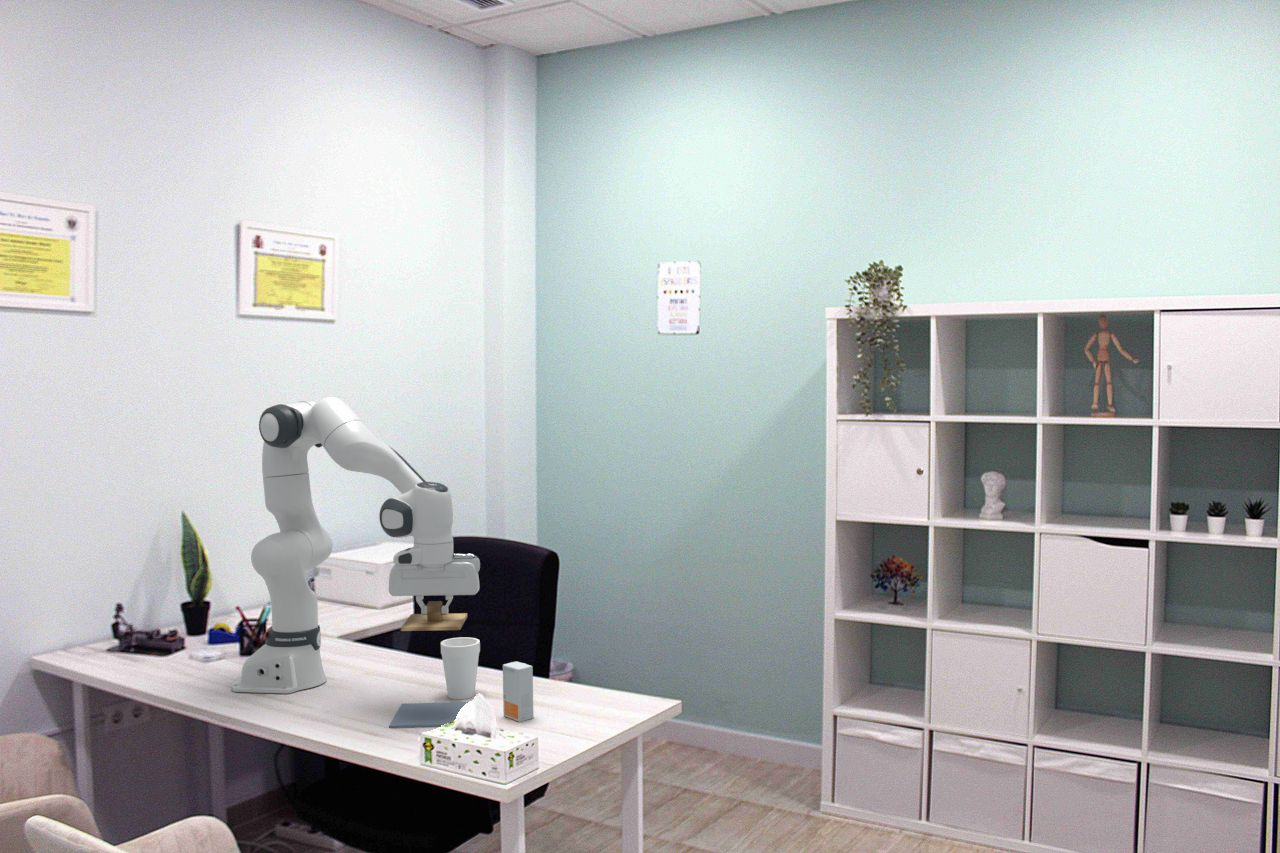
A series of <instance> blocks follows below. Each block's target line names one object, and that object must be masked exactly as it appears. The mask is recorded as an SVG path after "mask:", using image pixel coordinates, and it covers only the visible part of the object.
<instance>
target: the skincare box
mask: <svg viewBox="0 0 1280 853" xmlns="http://www.w3.org/2000/svg"><path fill="white" fill-rule="evenodd" d="M533 670H534V669H533V665H530V664H527V663H524V662H520V661H511V662H508V663H504V664H502V695H503V696H502V701H503V704H502V705H503V706H502V708H503V711H502V712H503V717H506V718H509V719H511V720H514V721H517V722H519V723H521V722H525V721H527V720H531V719H534V676H533V674H534V673H533Z"/></svg>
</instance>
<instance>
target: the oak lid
mask: <svg viewBox="0 0 1280 853" xmlns="http://www.w3.org/2000/svg"><path fill="white" fill-rule="evenodd" d="M426 606H427V615H421V613H413V614H412V613H411V614H410V616H408V618H407V619H406V620H405V622H404V623H403V624H402V625H401V627H400V631H401V632H411V631H412V632H414V631H415V632H417V631H418V632H421V631H423V632H424V631H460V630H461V629H462V627H463V625H464V624H465V621H466V620H467V619H468V613H467V612H466V613H465V612H462V613H455V612H454V613H448V615H441V607H442V606H443V600H442V601H441V600H436V601H435V600H433V601H432V600H431V601H427V604H426Z"/></svg>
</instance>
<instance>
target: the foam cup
mask: <svg viewBox="0 0 1280 853" xmlns="http://www.w3.org/2000/svg"><path fill="white" fill-rule="evenodd" d="M480 652H481V642H480V639H478V638H476V637H470V636H469V637H467V636H466V637H461V636H460V637H459V636H458V637H452V638H451V637H450V638H447V639H444V640H441V641H440V654H441V658H442V664H443V671H444V678H445V684H446V691H447V697H448V698H450V699H452V700H467V699H470V698H473V697H474V696H475V692H476V687H477V686H476V685H477V675H478V667H479V666H478V665H479V656H480Z"/></svg>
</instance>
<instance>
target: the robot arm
mask: <svg viewBox="0 0 1280 853" xmlns="http://www.w3.org/2000/svg"><path fill="white" fill-rule="evenodd" d="M258 423H259V424H258V429H259V435H260V436H261V439H262V440H263V446H262V454H261V456H262V457H261V459H262V460H261V470H262V471H261V473H262V482H263V483H262V484H263V492H264V504H265V507H266V510H267V511H268V512H270V513H271V514H272V515H273V517H274V518H275V520H276V523H277V525H278V528H279V532H275V533H272V534H270V535H267V536H266V537H264V538H263V539H261V540H260V541H258V542H257V543H256V544H255V545H254V546H253V548H252V550H251V555H250V556H251V557H250V560H251V565H252V567H253V570H255V572H256V573H257V574H258V575H259V576H261V578H262V579H263V580H264V582H265V585H266V587H267V591H268V595H269V598H270V608H271V626H269V627H268V628H267V630H266V631H264V634H263V635H262V636H263V637H262V639H263V640H264V642H265V643H264V644H263V645H262V646H261V647H260V648H258V649H257V650H256V651H254V653H252V654H251V655H249V657H247V658H246V659H245V661H244V663H243V665H242V668H241V673H240V674H241V676H239V677H238V678H237V679H235V680H234V682H232V684H231V691H232V692H235V693H258V694H259V693H260V694H264V693H265V694H291V693H295V692H298V691H301V690H302V691H303V690H307V689H310V688H315V687H317V686H321V685H323V684H325V682H326V681H327V676H326V674H325V672H324V671H325V670H324V666H323V663H322V662H323V661H322V656H321V650H320V648H321V645H322V637H321V636H322V633H321V627H320V625H319V615H318V614H319V612H318V611H319V608H318V606H319V605H318V596H317V593H316V592H315V591H314V590H312V589H311V588H310V585H309V582H308V580H307V576H306V571H307V570H310V569H314V568H316V567H318V566H319V565H321V564H322V563H324V562H325V561H326V560H327V559H328V558H329V557H330V556H331V553H332V552H333V541H332V540H333V539H332V536H331V535H330V533H329V532H328V531H327V530H326V529H325V528H324V527H323V526H322V525H321V523H320V521H319V519H318V518H319V517H318V516H317V513H316V510H315V508H314V504H313V499H312V492H311V481H310V474H309V473H310V472H309V471H310V470H309V464H308V453H309V450H310V449H311V448H312V447H314V446H315V447H316V448H319V449H320V448H322V447H323V449H324V450H325V452H327V454H328V456H329V457H330V458H331V459H332V460H333V461H334V463H336V465H338V466H340V467H341V468H342V469H344V470H347V471H350V472H356V473H364V474H369V475H374V476H378V477H380V478H383V479H386V480H387V481H388V482H390V483H391V484H392V485H393V486H394V487H395V488H396V489H397V490H398V491H399V492H400V493H401V494H398V495H396V496H394V497H392V496H391V497H390V498H388V499H385V501H384V502H383V503H382V504H381V507H380V510H379V514H378V515H379V517H378V518H379V519H378V520H379V524H380V526H381V528H382V530H383V532H384V533H385V534H386V535H387V536H389V537H391V538H399V539H401V538H402V539H403V538H407V537H413V546H412V547H408V548H406V549H402V550H400V551H398V552H396V553H395V554H394V556H393V564H394V565H393V566H392V567H391V569H390V572H389V578H388V593H389V594H390V595H391V596H392V597H411V596H413V597H415V601H416V603H417V604H418V605H419V607H420V609H421V610H420V612H421V613H420V614H421V615H427V605H426V604H425V603H424V601H423V600H424V596H426V597H427V596H445V601H447V602H446V604H445V605H442V607H441V615H448V614H449V606H450V605H451V603H452V601H453V599H454V596H467V595H468V596H475V595H476V594H477V593H478V592H479V591H480V578H479V571H480V569H481V561H480V560H481V559H480V558H479V557H478V556H477V555H475V554H474V553H454V537H453V534H452V527H453V522H454V514H453V512H454V511H453V510H454V509H453V500H452V494H451V491H450V489H449V488H448V486H447V485H445V484H443V483H439V482H435V481H426V480H425V479H424V478H423V477H422V476H421V474H419V473H418V472H417V470H415V468H414V467H413V466H412V465H411V464H410V463H409V462H408V461H407V460H406V459H405V458H404V457H403V456H401V454H400V453H398V451H396V450H395V449H394V448H393V447H392V446H389V445H388V444H387V443H386V442H384V441H383V440H382V439H380V438H379V437H378V436H377V435H376V434H375V433H374V432H373V431H372V430H371V429H370V428H369V427H368V426H367V424H366V423H365V422H364V420H362V418H361V417H360V416H359V415H358V414H357V413H356V411H354V409H352V407H351V406H349V404H347V403H346V402H345V401H343V399H341V398H339V397H336V396H327V397H324V398H321V399H319V400H318V401H317V400H301V401H297V402H290V403H286V404H282V403H280V404H275V405H271V406H269V407H268V408H266V409H264V410H263V412H262V413H261V415H260V416H259V422H258Z"/></svg>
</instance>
